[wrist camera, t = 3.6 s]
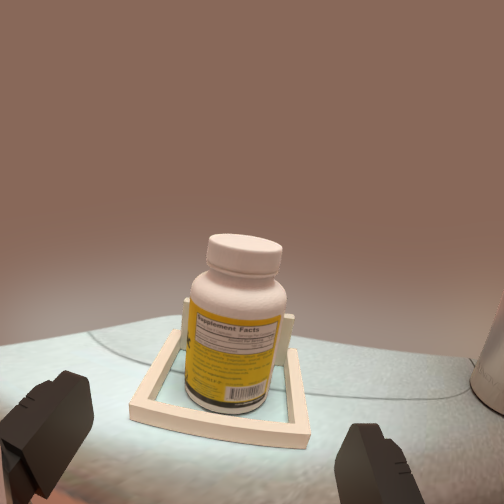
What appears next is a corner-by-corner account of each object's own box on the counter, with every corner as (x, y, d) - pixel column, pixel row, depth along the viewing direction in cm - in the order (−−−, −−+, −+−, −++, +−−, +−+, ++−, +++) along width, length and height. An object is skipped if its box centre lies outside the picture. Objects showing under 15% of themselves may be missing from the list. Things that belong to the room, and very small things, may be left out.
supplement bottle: (207, 359, 23) (224, 227, 21) (277, 383, 21) (306, 245, 19) (166, 395, 18) (176, 236, 16) (248, 429, 16) (282, 261, 14)
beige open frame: (293, 361, 24) (304, 316, 23) (305, 449, 15) (325, 394, 14) (172, 342, 24) (175, 295, 23) (130, 419, 15) (126, 361, 14)
